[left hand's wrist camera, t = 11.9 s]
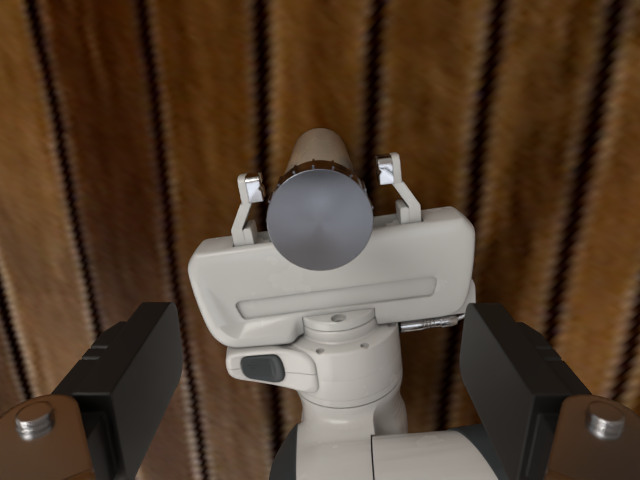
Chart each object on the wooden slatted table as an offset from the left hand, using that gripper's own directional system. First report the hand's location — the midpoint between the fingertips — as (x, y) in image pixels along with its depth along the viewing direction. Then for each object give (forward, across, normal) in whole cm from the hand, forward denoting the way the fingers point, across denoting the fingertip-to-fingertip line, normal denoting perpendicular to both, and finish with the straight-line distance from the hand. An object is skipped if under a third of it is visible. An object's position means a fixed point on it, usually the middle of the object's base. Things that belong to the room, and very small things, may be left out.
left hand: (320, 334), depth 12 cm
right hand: (+21, 0, 0) cm, 21 cm away
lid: (+10, 0, 0) cm, 10 cm away
